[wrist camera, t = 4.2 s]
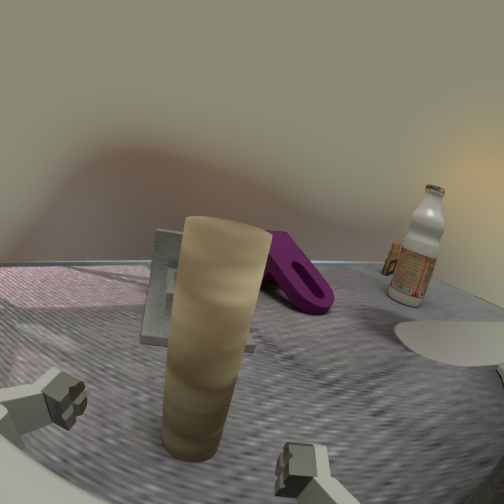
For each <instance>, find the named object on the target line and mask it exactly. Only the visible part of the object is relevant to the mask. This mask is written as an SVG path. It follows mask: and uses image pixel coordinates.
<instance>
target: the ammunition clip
mask: <svg viewBox="0 0 504 504" xmlns="http://www.w3.org/2000/svg"><path fill="white" fill-rule="evenodd" d="M400 246H401V240H400V239H395V240H394V241H393V243H392V247H391V249H390V251H389V254H388V258H387V259H386V262H385V265H384V268H383V271H382V274H383V275H385V276H388V275H390V274H392V273H394V270H395V267H396V263H397V260H398V259H397V258H398V255H399V251H400Z"/></svg>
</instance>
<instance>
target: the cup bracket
mask: <svg viewBox="0 0 504 504" xmlns="http://www.w3.org/2000/svg"><path fill="white" fill-rule="evenodd" d="M182 238H183V232H177V231H170V230H164V229H158V228H157V229H156V234H155V241H154V248H153V255H152V263H151V272H150V281H149V289H148V295H147V301H146V307H145V313H144V320H143V326H142V333H141V343H143V344H151V345H159V346H168V340H169V331H170V322H171V313H172V305H173V297H174V290H175V283H176V276H177V269H178V262H179V256H180V250H181V244H182ZM255 346H256V344H255V342H254V340H253V338H252V336H251V334H250V332H249V334H248V338H247V341H246V345H245V349H244V352H254V350H255Z"/></svg>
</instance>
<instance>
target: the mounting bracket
mask: <svg viewBox="0 0 504 504" xmlns="http://www.w3.org/2000/svg"><path fill="white" fill-rule="evenodd" d="M264 231H267V232H268V233H270V234H271V235H272V241H271V245H270V249H269V253H268V258H267V262H266V266H265V270H264V274H263V278H262V282H261V285H263V284H266V283H267V282H269V281H270V280H272V281H274V282H276V283H278V284H279V286H280V287H281V289H282V290H283V292H284V293H285V294H286V296H287V297H288V298H289V300H290V301H291V302H292V303H293V304H294V305H295V306H297V307H298V308H299V309H301V310H302V311H304V312H306V313H309V314H322V313H324V312H325V311H326V310H327V309H328V308H329V307H330V306H331V305H332V304H333V302H334V294H333V291H332V289H331V287H330V286H329V284H328V283H327V282H326V280H325V279H324V278H323V277H322V275H321V274H320V273H319V272H318V270H317V269H316V268H315V267H314V265H313V264H312V263H311V262H310V260H309V259H308V258H307V257H306V255H305V254H304V253H303V252H302V250H301V249H300V248H299V247H298V246H297V244H296V243H295V242H294V241H293V239H292V238H291V237H290V236H289V235H288V233H287V232H282V231H269V230H264Z"/></svg>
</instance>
